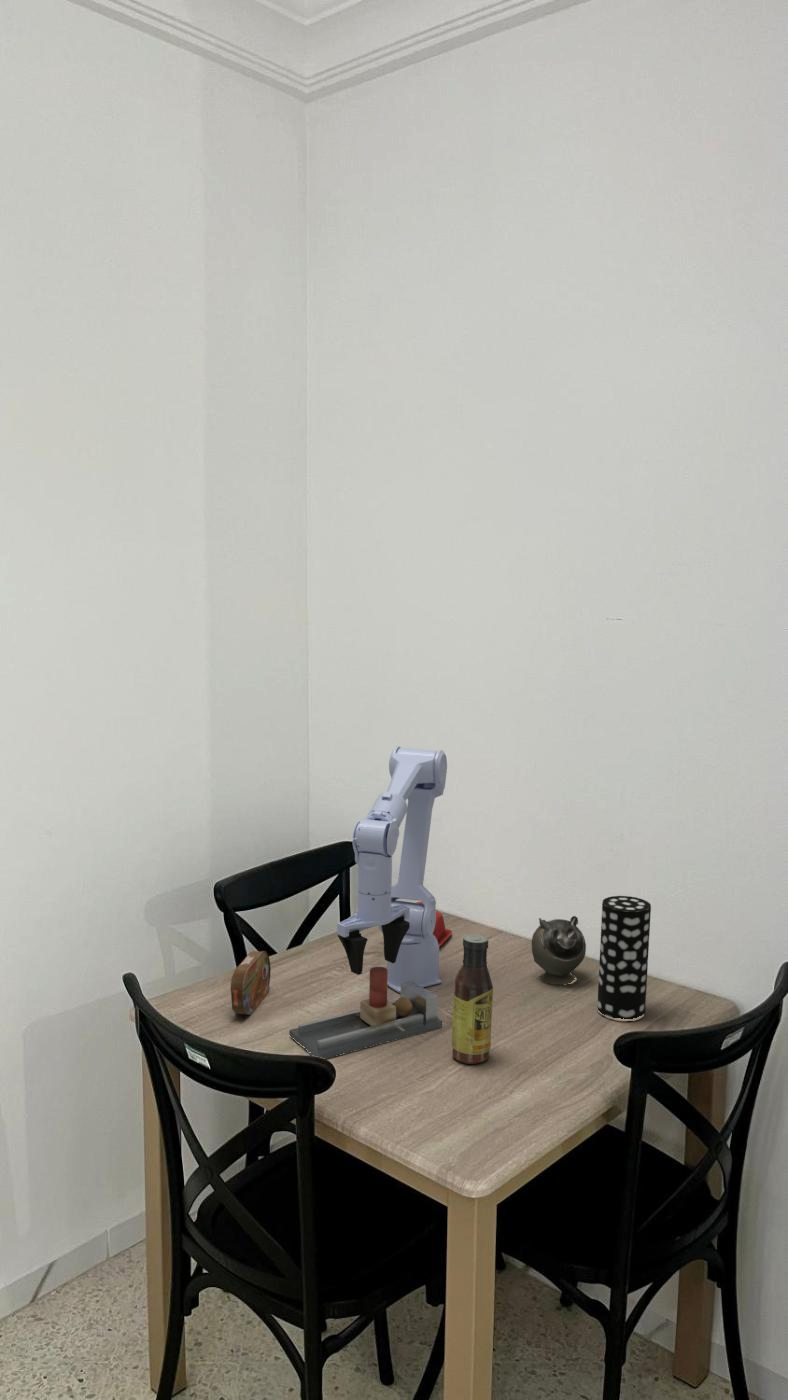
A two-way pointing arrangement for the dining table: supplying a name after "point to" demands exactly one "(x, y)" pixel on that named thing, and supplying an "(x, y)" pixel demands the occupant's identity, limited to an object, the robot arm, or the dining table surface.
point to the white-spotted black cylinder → (623, 957)
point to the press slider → (377, 1000)
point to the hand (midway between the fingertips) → (373, 966)
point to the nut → (403, 1006)
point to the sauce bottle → (472, 1003)
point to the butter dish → (440, 928)
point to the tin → (250, 982)
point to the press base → (368, 1026)
